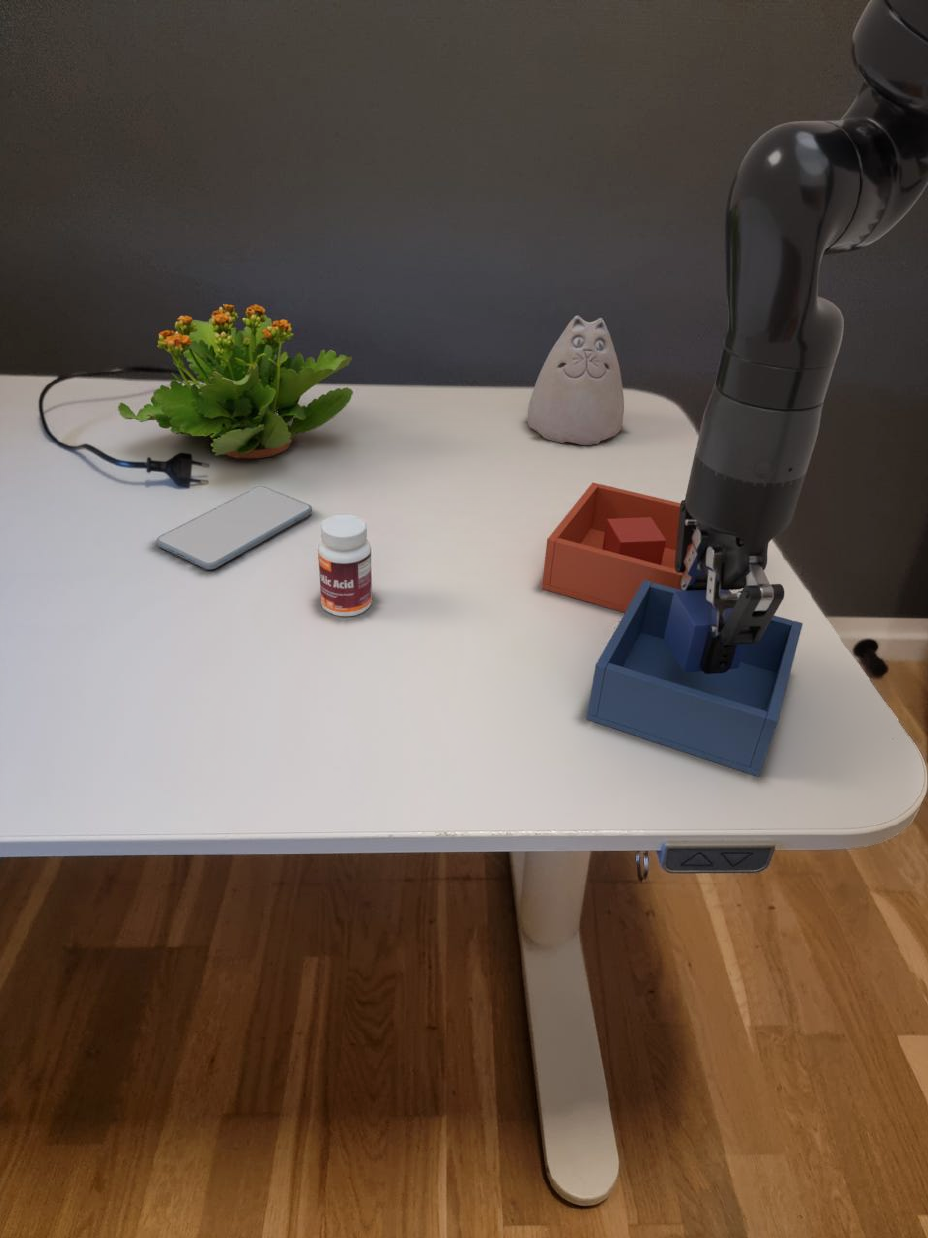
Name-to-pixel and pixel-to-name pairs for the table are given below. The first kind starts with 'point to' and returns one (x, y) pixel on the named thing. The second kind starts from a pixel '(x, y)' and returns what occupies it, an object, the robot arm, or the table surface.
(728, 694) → the slate bin
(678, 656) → the blue block
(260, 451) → the potted flower
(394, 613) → the table surface
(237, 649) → the table surface
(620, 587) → the terracotta bin
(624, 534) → the red block
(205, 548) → the smartphone
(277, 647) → the table surface
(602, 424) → the sculpture
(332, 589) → the pill bottle
